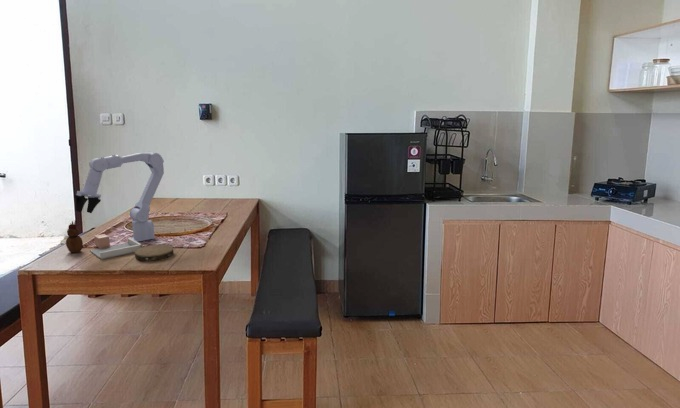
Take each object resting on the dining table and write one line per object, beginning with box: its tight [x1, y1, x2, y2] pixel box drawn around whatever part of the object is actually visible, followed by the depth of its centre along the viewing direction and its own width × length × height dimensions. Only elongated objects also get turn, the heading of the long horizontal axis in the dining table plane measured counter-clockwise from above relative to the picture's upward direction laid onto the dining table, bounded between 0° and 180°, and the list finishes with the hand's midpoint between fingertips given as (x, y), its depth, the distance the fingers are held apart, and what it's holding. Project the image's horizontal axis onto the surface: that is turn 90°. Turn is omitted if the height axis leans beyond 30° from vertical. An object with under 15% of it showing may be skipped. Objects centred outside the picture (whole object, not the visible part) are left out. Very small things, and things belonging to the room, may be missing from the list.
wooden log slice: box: [134, 244, 174, 263], centre depth 213 cm, size 16×16×3 cm
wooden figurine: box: [65, 219, 84, 254], centre depth 218 cm, size 7×6×15 cm
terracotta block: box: [93, 233, 111, 249], centre depth 228 cm, size 4×7×5 cm, turn 43°
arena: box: [89, 237, 143, 260], centre depth 220 cm, size 18×16×3 cm
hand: (83, 212), depth 220 cm, fingers open, 7 cm apart
